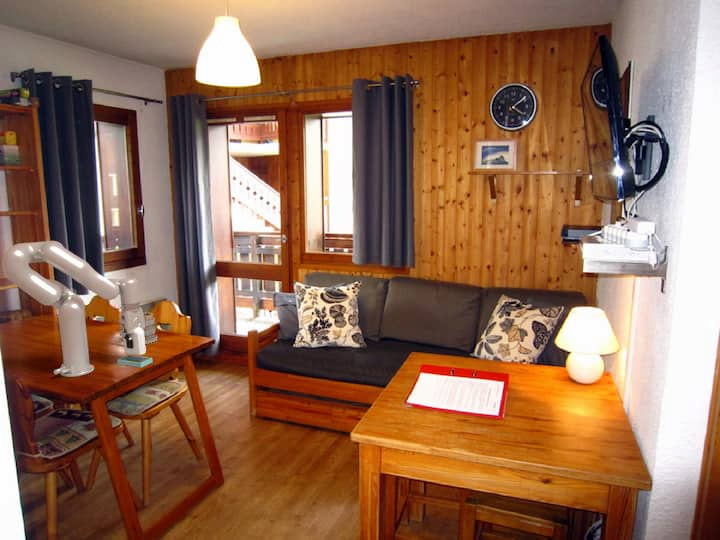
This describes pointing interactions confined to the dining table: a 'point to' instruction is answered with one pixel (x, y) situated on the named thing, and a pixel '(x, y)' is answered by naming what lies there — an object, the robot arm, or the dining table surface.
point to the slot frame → (136, 364)
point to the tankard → (148, 328)
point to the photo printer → (136, 343)
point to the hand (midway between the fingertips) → (134, 345)
